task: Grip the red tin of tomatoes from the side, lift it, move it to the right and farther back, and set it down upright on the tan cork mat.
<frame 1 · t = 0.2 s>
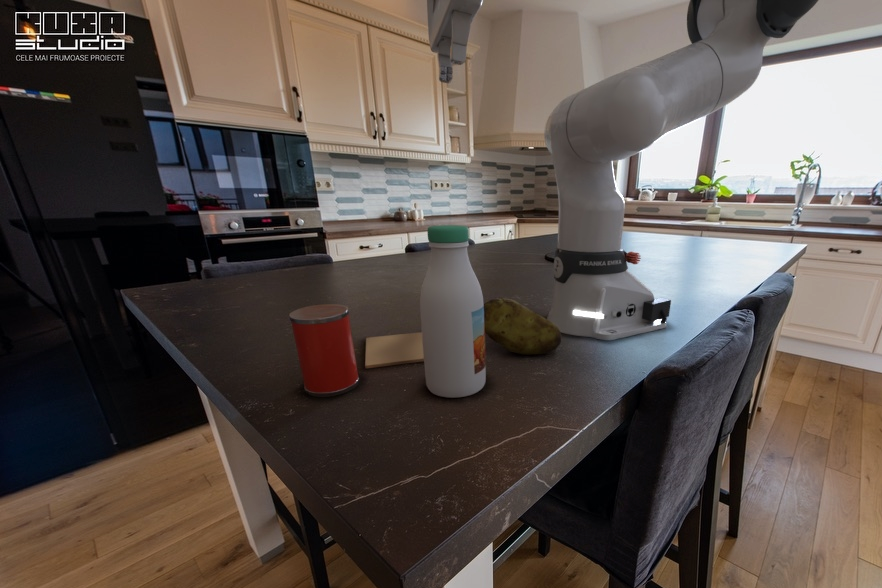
hand: (451, 73, 54), 39 cm above the table, tool pointing down, fingers open, 8 cm apart
milk bottle: (456, 386, 52), on the table
potato: (517, 350, 63), on the table
cork mat: (405, 348, 63), on the table
tomato tin: (332, 385, 51), on the table
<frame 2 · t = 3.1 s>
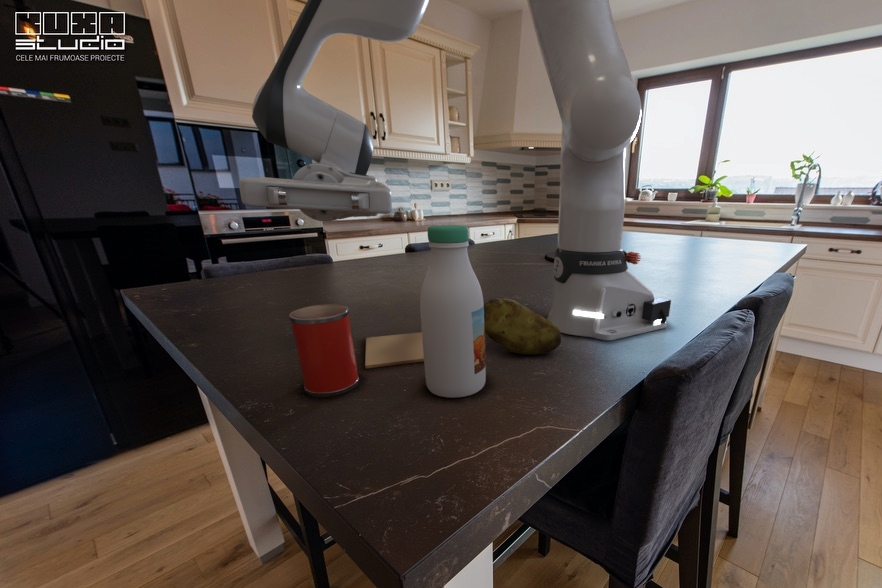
hand: (320, 200, 53), 22 cm above the table, tool horizontal, fingers open, 8 cm apart
nothing on the table moved.
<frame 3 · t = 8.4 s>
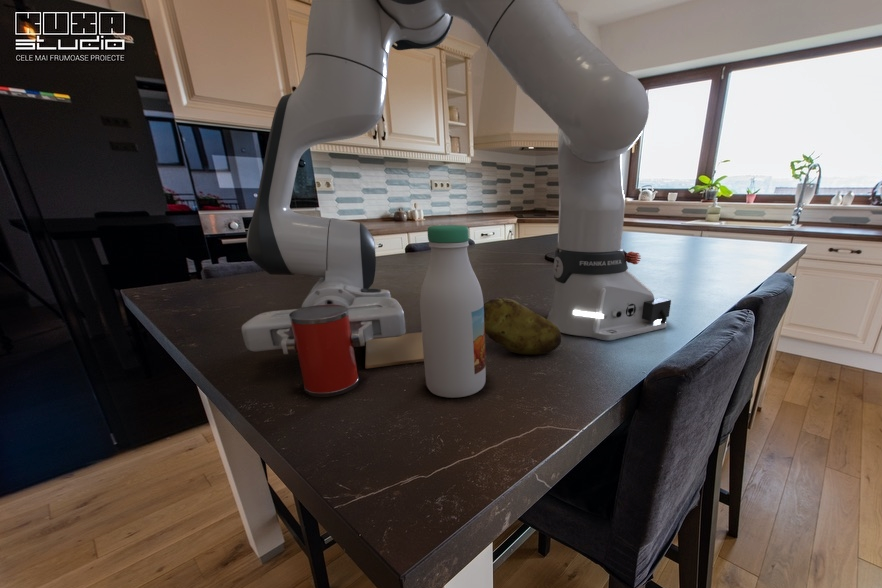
hand: (324, 344, 49), 6 cm above the table, tool horizontal, fingers closed on tomato tin, 6 cm apart
tomato tin: (332, 385, 51), on the table, touching gripper
everything else where it was.
when the fingers open (6 cm above the table, at t = 16.1 s): tomato tin stays where it is, resting on cork mat.
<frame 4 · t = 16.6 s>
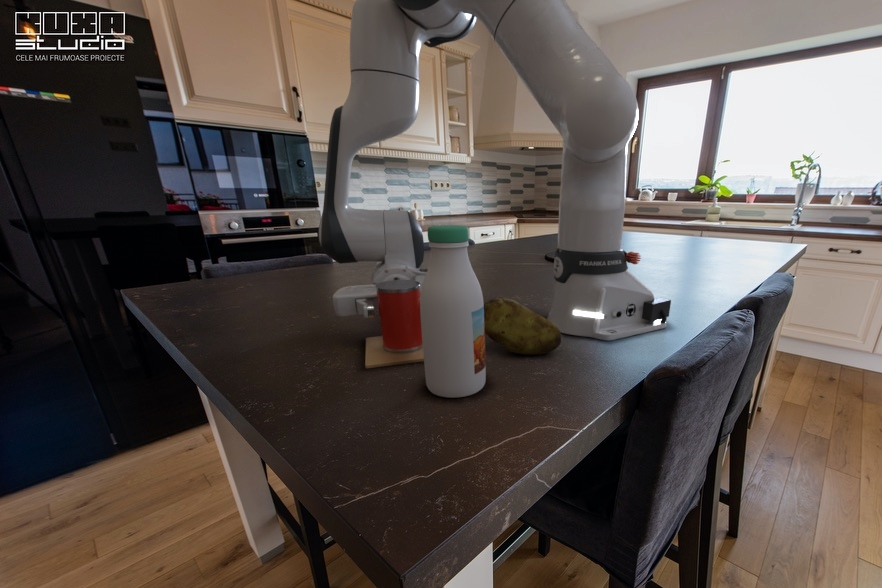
hand: (401, 310, 60), 7 cm above the table, tool horizontal, fingers open, 8 cm apart
tomato tin: (404, 345, 63), point 1 cm above the table, touching cork mat
everything else where it was.
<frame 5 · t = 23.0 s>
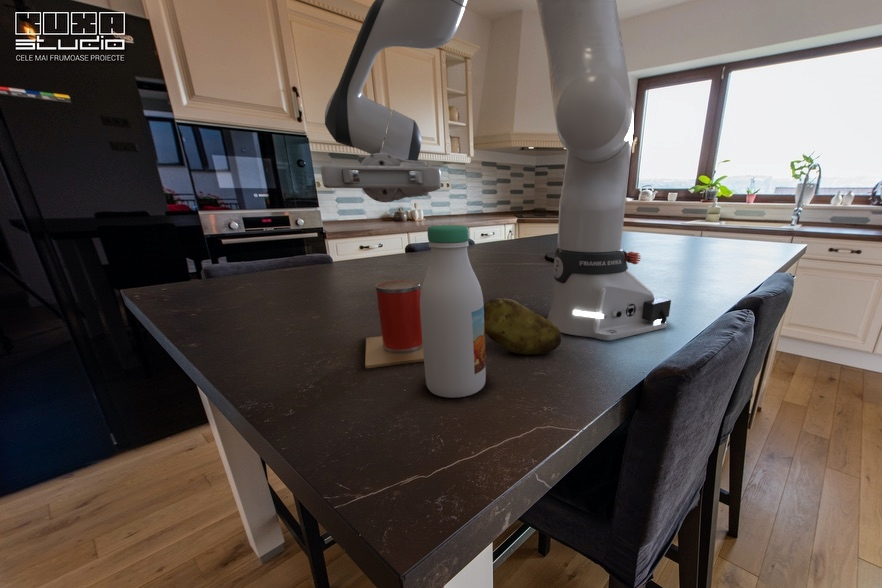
hand: (384, 176, 65), 26 cm above the table, tool horizontal, fingers open, 8 cm apart
nothing on the table moved.
at the end: tomato tin inside the target area (0.1 cm from its centre), point 0.5 cm above the table; tomato tin tilted 0°; the gripper is holding nothing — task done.
